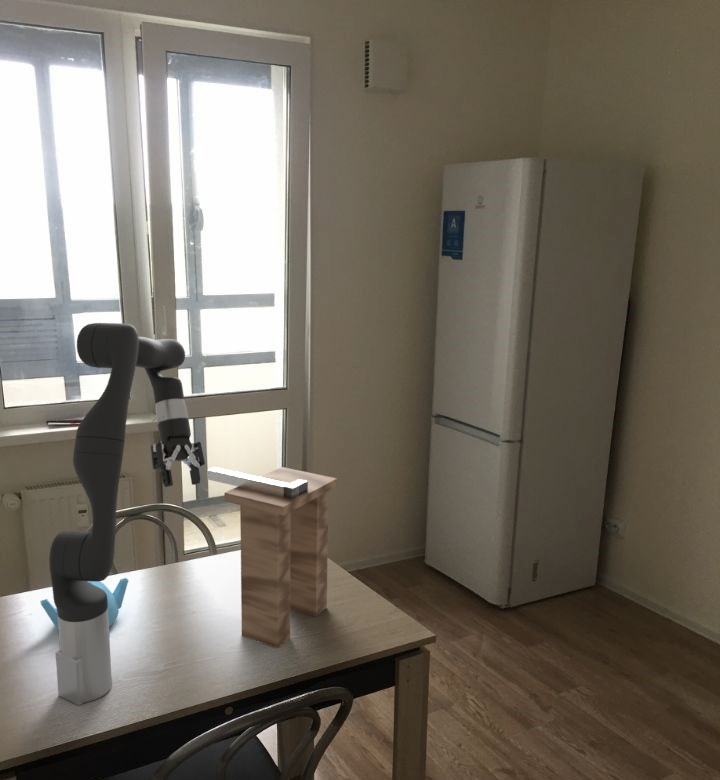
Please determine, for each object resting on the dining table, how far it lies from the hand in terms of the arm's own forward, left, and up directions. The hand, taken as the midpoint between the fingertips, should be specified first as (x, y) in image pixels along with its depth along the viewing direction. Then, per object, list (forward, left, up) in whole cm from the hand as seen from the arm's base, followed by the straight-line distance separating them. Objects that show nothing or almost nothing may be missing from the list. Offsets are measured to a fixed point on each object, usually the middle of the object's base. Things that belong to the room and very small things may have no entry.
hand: (182, 485), depth 170 cm
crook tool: (+3, -20, +3) cm, 21 cm away
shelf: (+6, -25, -31) cm, 40 cm away
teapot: (-19, +13, -31) cm, 39 cm away
